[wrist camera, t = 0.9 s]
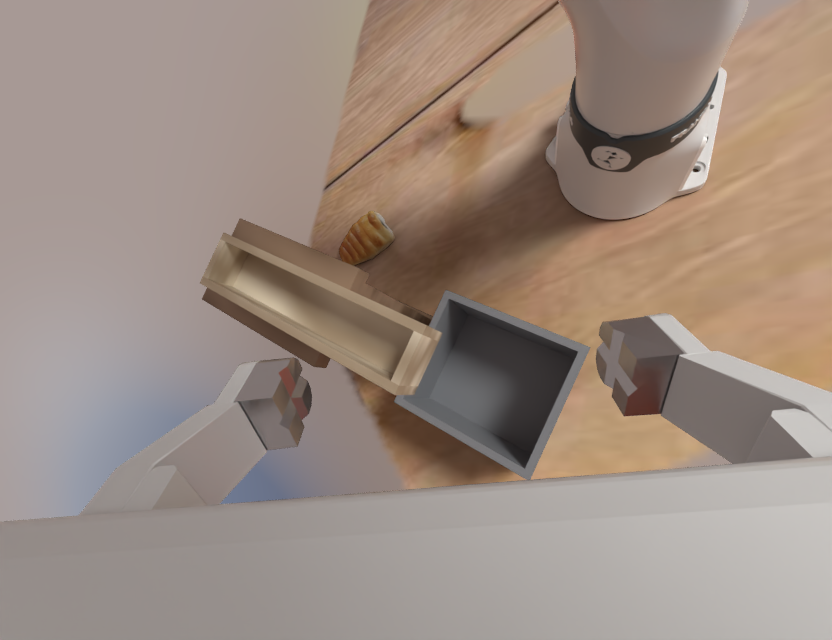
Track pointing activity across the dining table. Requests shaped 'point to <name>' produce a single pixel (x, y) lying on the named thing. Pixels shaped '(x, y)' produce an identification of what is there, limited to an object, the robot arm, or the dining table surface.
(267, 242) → the walnut pedestal
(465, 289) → the dining table surface
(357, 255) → the pastry
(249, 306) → the birch crate
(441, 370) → the charcoal crate
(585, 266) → the dining table surface
